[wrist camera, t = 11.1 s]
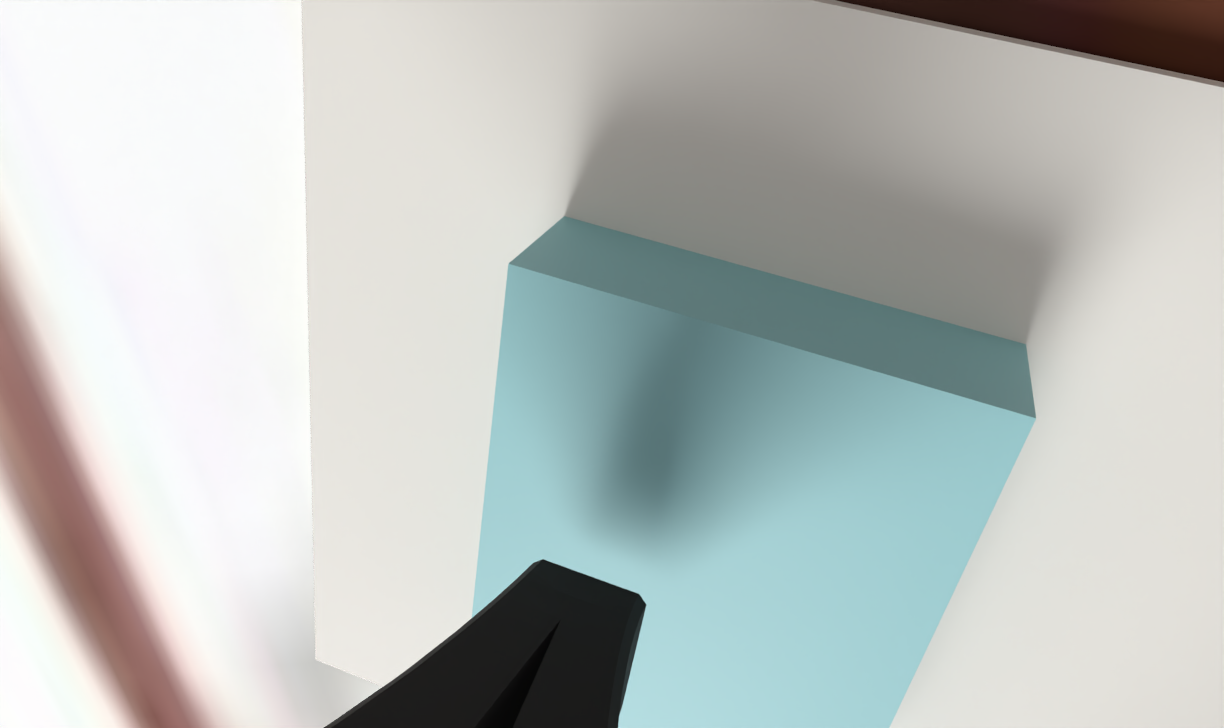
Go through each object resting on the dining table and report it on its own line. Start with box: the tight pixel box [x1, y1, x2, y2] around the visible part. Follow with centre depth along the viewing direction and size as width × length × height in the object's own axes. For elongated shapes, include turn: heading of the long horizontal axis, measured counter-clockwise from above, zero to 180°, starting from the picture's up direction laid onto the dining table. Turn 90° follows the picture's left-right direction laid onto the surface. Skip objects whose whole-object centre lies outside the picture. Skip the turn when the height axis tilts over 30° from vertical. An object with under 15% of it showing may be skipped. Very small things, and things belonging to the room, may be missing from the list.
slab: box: [472, 216, 1036, 728], centre depth 13 cm, size 8×2×6 cm
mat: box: [302, 0, 1224, 728], centre depth 13 cm, size 14×18×1 cm
